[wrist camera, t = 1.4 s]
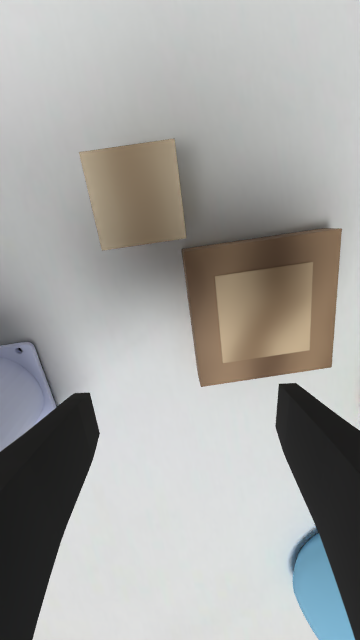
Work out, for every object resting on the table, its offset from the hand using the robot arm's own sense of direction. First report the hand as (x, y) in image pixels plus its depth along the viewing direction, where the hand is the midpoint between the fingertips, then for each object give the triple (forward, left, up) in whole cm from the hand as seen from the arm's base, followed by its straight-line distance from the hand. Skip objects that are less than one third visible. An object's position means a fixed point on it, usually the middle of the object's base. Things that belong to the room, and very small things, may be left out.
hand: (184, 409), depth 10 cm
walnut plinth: (+6, 0, -11) cm, 12 cm away
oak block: (-1, +8, -11) cm, 13 cm away
